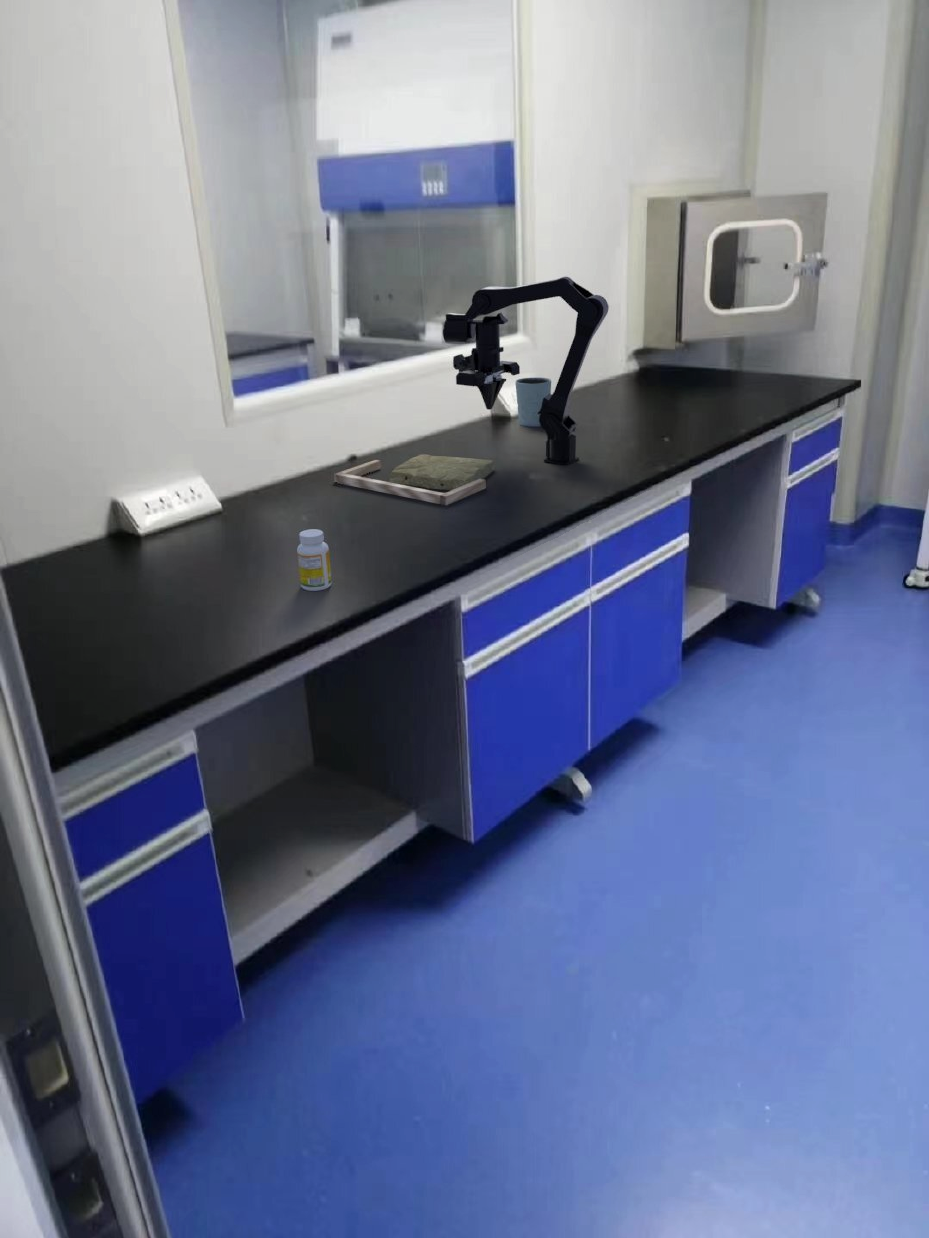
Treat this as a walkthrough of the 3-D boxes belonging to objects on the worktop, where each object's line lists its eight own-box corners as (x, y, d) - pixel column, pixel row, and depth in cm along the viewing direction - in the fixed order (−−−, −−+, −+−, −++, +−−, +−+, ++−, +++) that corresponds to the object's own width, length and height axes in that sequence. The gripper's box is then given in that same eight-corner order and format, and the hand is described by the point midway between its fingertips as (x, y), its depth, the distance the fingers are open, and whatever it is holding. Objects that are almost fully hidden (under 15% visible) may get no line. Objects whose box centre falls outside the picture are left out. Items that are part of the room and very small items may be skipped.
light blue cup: (533, 429, 259) (533, 385, 254) (508, 423, 266) (507, 380, 261) (558, 422, 265) (559, 379, 260) (533, 417, 272) (533, 375, 267)
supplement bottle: (315, 594, 158) (309, 540, 154) (294, 587, 161) (288, 534, 157) (338, 584, 162) (333, 531, 158) (317, 577, 165) (312, 525, 161)
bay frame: (485, 488, 210) (485, 479, 209) (446, 505, 200) (445, 496, 199) (376, 467, 228) (375, 459, 228) (334, 482, 218) (333, 474, 217)
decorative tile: (418, 466, 231) (417, 451, 229) (495, 472, 224) (494, 457, 222) (385, 487, 215) (384, 472, 214) (465, 494, 208) (465, 478, 207)
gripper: (483, 336, 233) (485, 399, 240) (436, 347, 220) (439, 413, 226) (520, 338, 227) (521, 403, 233) (474, 350, 214) (476, 418, 220)
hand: (489, 409), depth 229 cm, fingers closed
